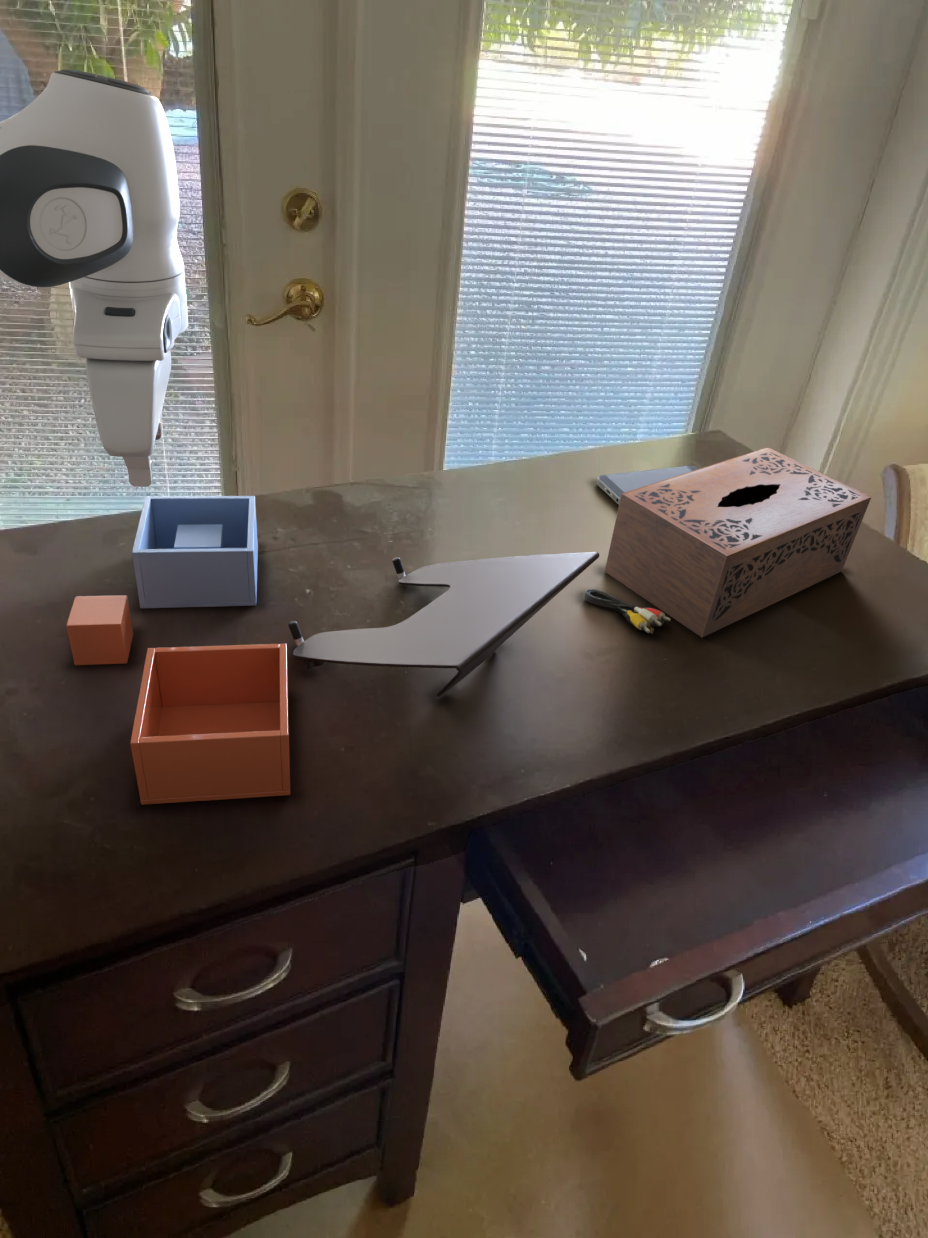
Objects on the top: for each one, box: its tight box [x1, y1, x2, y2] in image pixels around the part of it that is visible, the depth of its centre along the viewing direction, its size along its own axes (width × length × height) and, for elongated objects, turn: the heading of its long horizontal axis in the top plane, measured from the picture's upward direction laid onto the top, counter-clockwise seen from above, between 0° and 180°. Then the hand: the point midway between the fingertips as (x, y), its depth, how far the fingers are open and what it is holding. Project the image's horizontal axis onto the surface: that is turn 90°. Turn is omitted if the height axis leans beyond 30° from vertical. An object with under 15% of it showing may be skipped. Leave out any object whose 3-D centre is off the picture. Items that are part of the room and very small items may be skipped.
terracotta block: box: [66, 594, 134, 666], centre depth 81 cm, size 4×4×4 cm
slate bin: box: [131, 495, 259, 609], centre depth 91 cm, size 11×11×6 cm
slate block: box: [174, 524, 225, 549], centre depth 92 cm, size 4×4×4 cm
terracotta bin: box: [129, 643, 291, 806], centre depth 71 cm, size 11×11×6 cm
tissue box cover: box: [604, 446, 872, 638], centre depth 101 cm, size 26×14×10 cm, turn 127°
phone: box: [596, 465, 699, 506], centre depth 119 cm, size 8×1×16 cm
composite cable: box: [583, 588, 671, 635], centre depth 94 cm, size 10×5×2 cm, turn 39°
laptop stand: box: [287, 551, 600, 698], centre depth 84 cm, size 23×23×9 cm
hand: (147, 458), depth 80 cm, fingers open, 8 cm apart
